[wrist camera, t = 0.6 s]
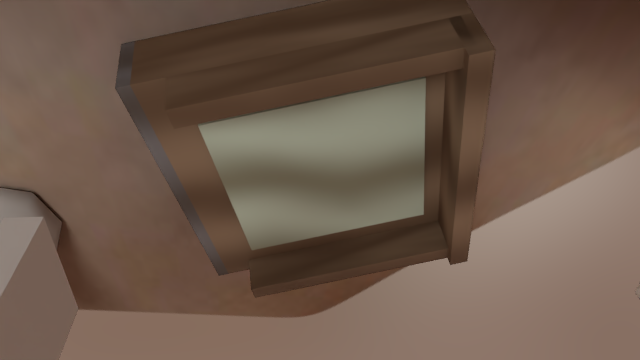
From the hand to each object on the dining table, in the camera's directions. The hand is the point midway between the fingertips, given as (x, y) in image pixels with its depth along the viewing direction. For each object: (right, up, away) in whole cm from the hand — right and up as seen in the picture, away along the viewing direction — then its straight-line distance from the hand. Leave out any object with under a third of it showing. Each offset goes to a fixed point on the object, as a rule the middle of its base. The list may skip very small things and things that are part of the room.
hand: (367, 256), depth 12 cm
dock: (-1, +4, +18) cm, 18 cm away
